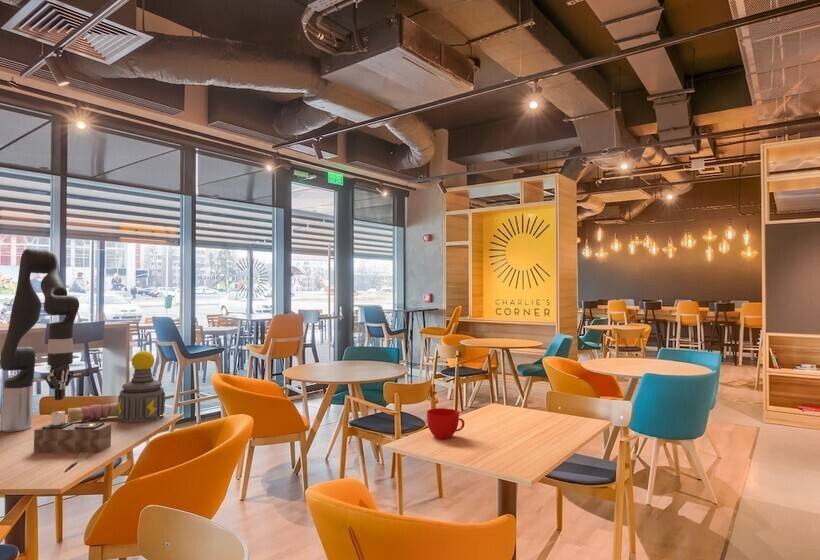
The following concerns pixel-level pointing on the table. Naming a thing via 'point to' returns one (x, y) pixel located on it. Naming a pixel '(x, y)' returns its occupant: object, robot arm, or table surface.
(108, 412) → the scroll
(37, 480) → the table surface
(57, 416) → the peg
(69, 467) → the fork
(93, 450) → the walnut bar
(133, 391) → the decorative lamp
